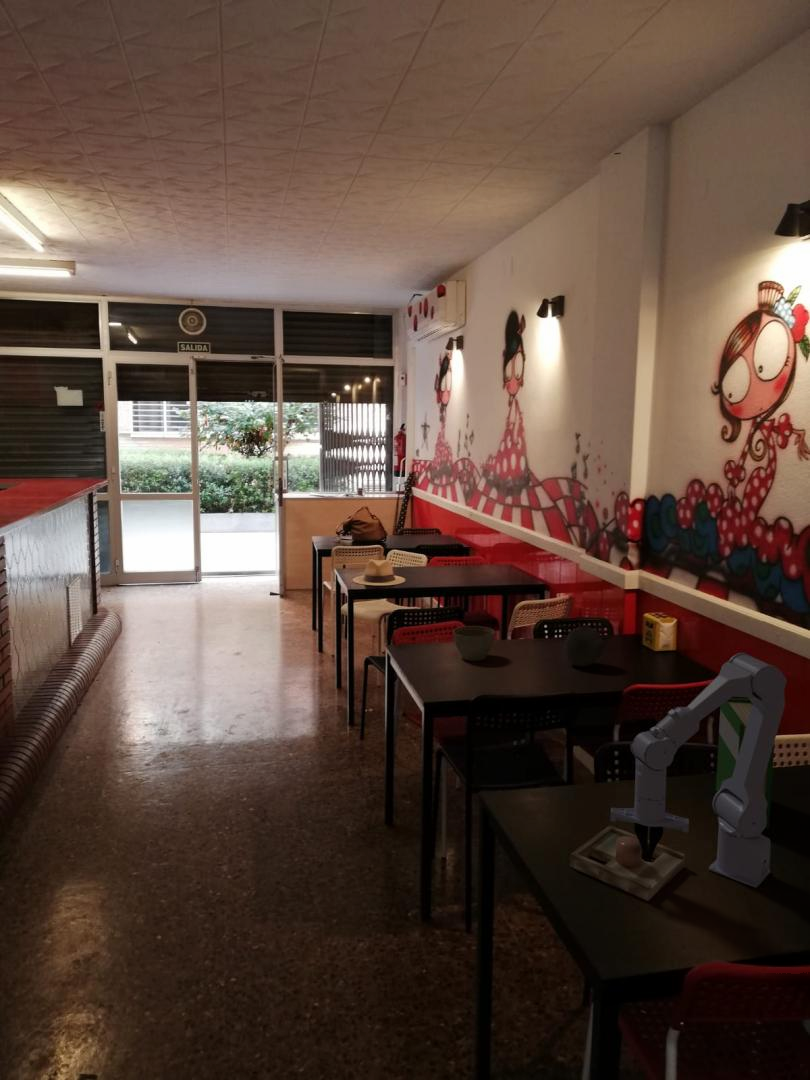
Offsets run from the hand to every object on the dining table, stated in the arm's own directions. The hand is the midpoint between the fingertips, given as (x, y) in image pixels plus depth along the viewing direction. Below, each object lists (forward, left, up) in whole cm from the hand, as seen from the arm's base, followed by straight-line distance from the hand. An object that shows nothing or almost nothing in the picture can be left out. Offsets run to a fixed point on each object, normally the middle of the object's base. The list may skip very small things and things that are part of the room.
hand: (647, 859), depth 153 cm
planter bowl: (+121, -96, -5) cm, 154 cm away
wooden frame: (+5, -2, -5) cm, 7 cm away
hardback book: (-2, -43, -5) cm, 43 cm away
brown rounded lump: (+5, -1, -3) cm, 5 cm away
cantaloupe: (+84, -116, -5) cm, 143 cm away
